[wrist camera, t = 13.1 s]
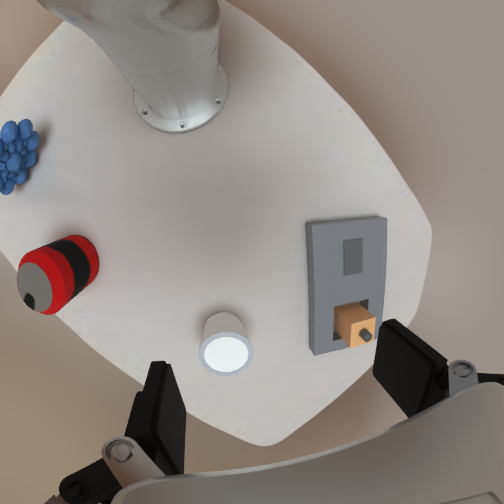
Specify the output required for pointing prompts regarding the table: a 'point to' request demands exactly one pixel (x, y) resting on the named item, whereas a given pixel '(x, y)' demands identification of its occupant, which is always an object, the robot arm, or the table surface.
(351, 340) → the block
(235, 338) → the white short cylinder
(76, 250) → the soda can
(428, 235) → the table surface
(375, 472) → the robot arm
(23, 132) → the grapes
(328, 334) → the socket plate
